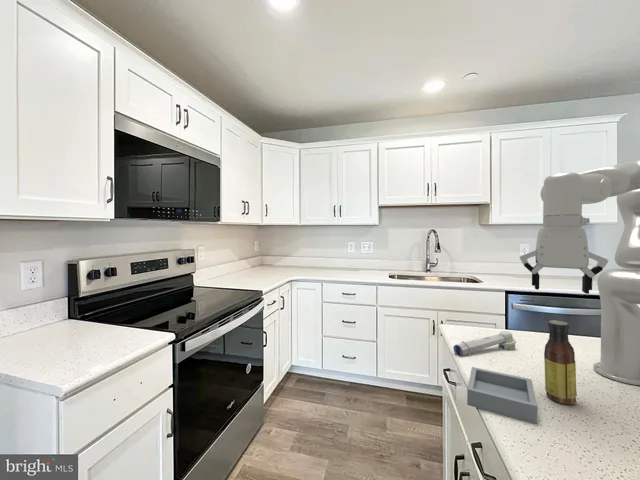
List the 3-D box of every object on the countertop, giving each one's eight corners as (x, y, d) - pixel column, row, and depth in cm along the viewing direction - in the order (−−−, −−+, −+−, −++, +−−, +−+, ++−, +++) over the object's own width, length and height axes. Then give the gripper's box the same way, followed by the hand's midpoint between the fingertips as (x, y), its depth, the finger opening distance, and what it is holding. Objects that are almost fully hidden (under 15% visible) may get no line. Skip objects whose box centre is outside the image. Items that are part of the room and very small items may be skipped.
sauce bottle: (569, 394, 77) (570, 319, 76) (581, 408, 71) (582, 327, 70) (539, 390, 79) (540, 317, 78) (549, 403, 73) (550, 324, 72)
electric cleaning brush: (451, 342, 104) (505, 325, 111) (453, 360, 105) (507, 342, 111) (462, 347, 99) (518, 330, 106) (464, 366, 100) (520, 347, 106)
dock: (531, 394, 77) (531, 379, 77) (537, 424, 65) (537, 406, 65) (471, 380, 84) (471, 366, 84) (467, 405, 73) (467, 389, 72)
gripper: (603, 223, 72) (602, 291, 73) (519, 224, 81) (518, 285, 82) (613, 222, 66) (612, 297, 66) (521, 223, 75) (519, 289, 75)
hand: (560, 290), depth 74 cm, fingers open, 9 cm apart
